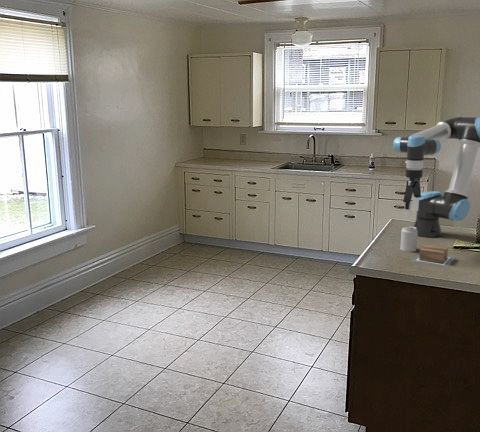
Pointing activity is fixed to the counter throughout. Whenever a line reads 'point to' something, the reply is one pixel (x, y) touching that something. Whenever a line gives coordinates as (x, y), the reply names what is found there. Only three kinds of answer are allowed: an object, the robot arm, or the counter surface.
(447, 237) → the counter surface
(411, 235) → the can
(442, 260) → the walnut block
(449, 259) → the grey flat plate
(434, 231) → the robot arm
